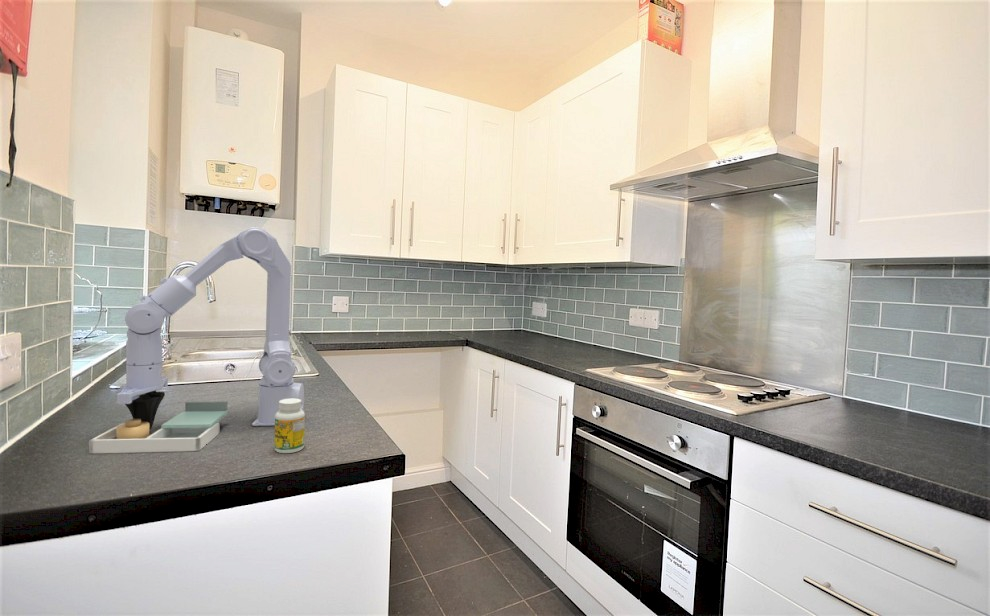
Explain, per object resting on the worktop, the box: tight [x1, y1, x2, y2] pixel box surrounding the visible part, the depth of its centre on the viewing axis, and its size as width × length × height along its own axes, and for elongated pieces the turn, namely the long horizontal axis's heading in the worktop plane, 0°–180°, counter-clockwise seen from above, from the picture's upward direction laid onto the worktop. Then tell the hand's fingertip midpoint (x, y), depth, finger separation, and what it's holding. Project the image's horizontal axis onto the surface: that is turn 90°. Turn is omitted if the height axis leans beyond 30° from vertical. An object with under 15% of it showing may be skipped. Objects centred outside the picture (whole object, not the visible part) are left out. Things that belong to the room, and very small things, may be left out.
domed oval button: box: [116, 418, 150, 439], centre depth 89 cm, size 5×5×4 cm
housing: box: [88, 421, 221, 454], centre depth 90 cm, size 18×10×2 cm, turn 102°
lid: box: [161, 400, 230, 428], centre depth 97 cm, size 9×10×3 cm
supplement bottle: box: [274, 398, 306, 454], centre depth 90 cm, size 5×5×10 cm
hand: (144, 429), depth 93 cm, fingers closed
